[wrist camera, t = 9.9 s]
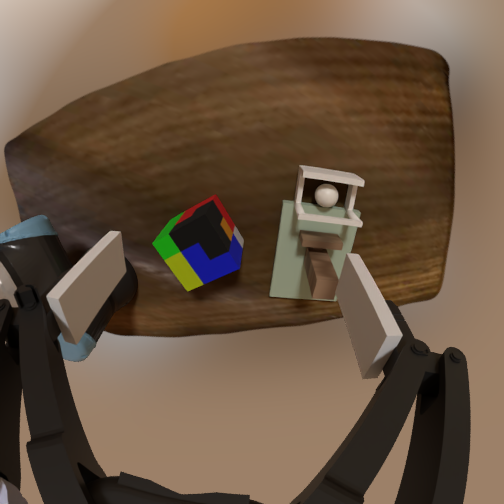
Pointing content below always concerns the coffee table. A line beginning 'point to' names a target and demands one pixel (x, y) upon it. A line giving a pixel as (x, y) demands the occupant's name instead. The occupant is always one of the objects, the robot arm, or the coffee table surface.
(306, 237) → the kicker
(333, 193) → the ball
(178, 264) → the puzzle toy
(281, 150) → the coffee table surface
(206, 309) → the coffee table surface
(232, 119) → the coffee table surface
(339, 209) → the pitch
